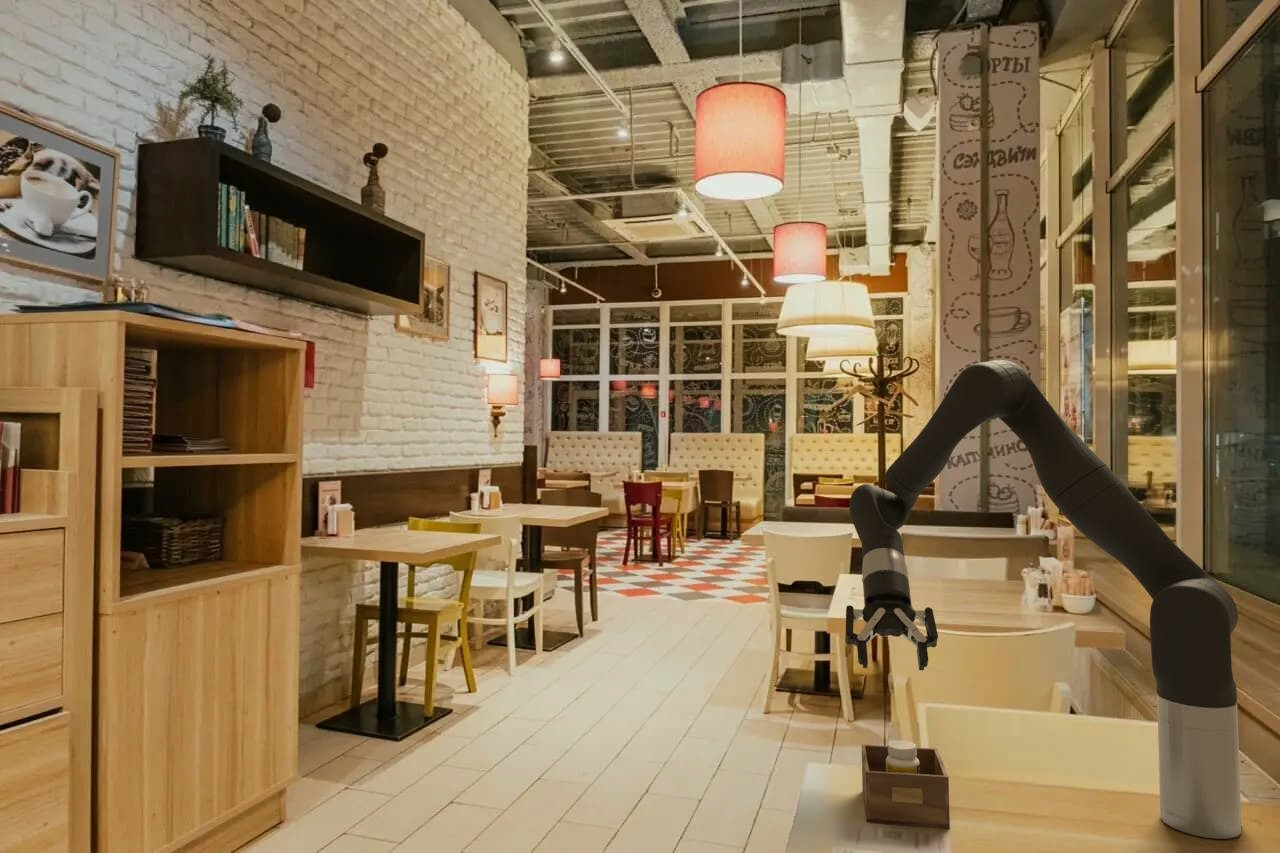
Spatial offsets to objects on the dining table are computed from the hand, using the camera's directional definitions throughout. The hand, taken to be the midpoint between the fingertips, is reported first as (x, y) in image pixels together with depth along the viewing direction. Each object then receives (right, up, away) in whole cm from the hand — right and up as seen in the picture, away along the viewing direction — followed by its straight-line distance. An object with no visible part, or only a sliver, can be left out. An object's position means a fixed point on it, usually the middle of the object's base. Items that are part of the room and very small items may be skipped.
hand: (893, 666), depth 133 cm
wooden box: (-2, -18, -10) cm, 20 cm away
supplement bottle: (-1, -17, -10) cm, 20 cm away
